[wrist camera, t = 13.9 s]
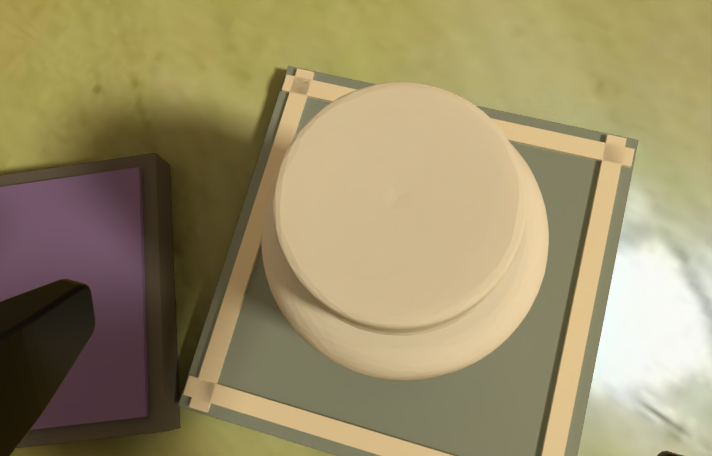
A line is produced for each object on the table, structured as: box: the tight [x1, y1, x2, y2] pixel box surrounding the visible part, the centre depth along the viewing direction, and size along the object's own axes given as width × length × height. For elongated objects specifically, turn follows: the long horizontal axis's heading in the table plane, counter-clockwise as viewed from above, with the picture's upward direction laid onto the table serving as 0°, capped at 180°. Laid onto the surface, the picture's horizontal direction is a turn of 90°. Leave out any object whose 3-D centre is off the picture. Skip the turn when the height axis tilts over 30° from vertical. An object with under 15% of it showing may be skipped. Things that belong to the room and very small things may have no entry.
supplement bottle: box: [261, 82, 549, 381], centre depth 14 cm, size 6×6×10 cm
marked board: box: [178, 66, 638, 456], centre depth 19 cm, size 12×12×1 cm
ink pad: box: [0, 153, 180, 448], centre depth 20 cm, size 9×9×1 cm
